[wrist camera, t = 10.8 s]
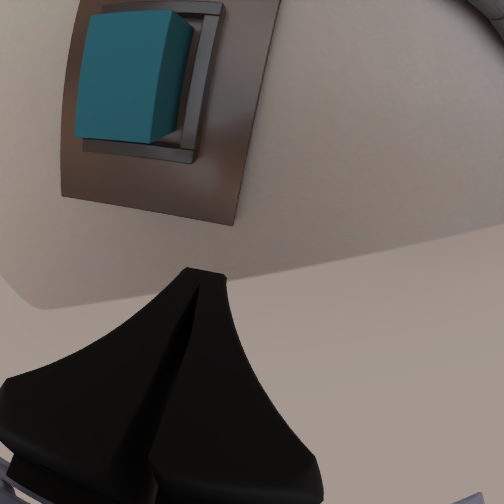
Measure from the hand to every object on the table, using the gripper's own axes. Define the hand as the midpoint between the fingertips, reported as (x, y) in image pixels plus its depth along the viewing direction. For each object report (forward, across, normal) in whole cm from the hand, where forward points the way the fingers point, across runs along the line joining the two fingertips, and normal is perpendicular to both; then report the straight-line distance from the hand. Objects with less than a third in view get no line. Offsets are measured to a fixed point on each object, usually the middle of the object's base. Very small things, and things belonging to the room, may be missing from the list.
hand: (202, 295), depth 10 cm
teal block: (+8, +6, -7) cm, 12 cm away
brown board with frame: (+9, +6, -7) cm, 13 cm away
